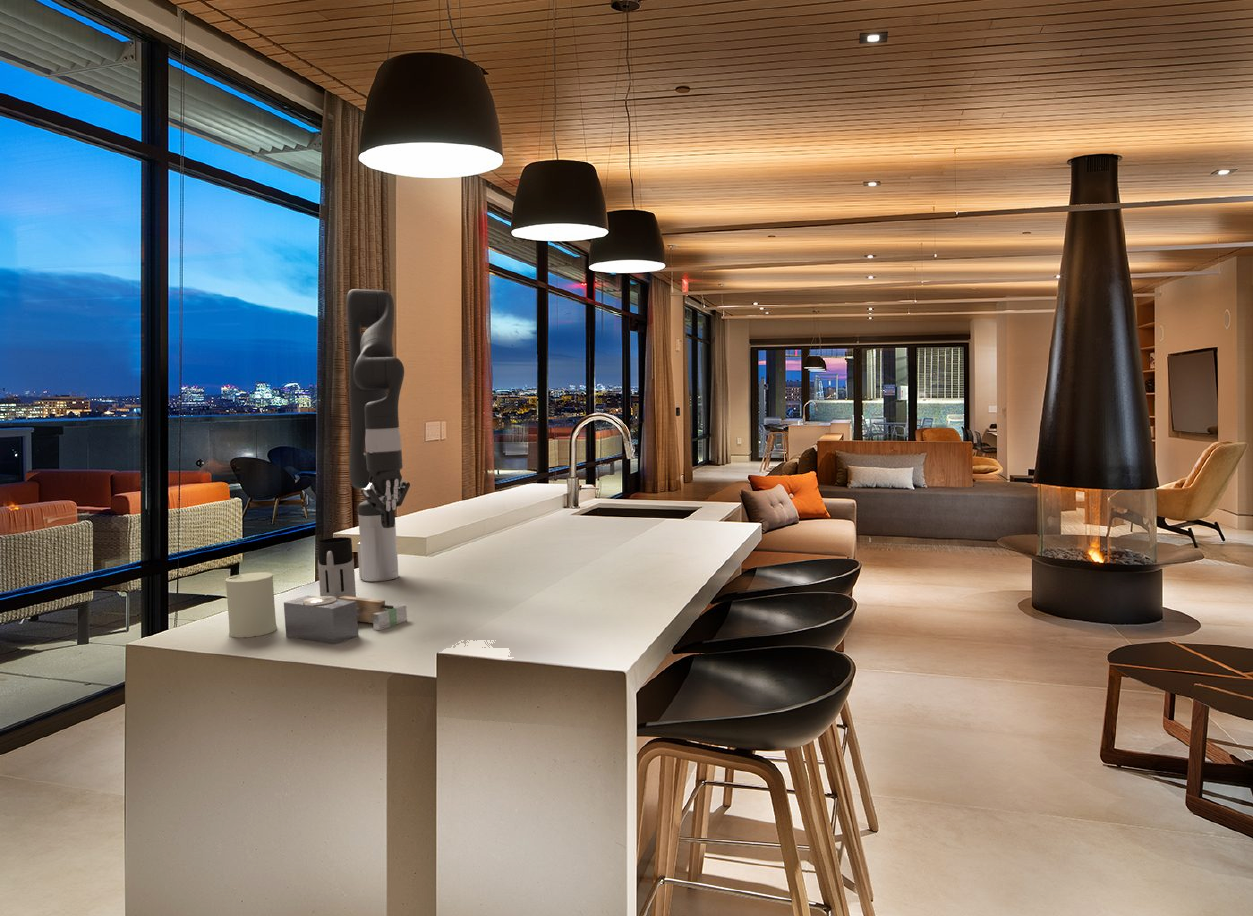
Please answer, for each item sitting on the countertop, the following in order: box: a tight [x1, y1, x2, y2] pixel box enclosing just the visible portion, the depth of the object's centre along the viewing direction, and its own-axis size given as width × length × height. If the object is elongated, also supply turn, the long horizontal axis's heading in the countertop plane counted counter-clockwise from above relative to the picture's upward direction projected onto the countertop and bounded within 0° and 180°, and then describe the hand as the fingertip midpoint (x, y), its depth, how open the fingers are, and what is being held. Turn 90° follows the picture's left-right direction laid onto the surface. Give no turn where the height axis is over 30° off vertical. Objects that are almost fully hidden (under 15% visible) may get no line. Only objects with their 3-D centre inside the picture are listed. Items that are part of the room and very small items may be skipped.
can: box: [224, 571, 278, 639], centre depth 178 cm, size 9×9×12 cm
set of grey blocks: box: [283, 595, 408, 645], centre depth 177 cm, size 15×19×7 cm
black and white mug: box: [317, 536, 357, 599], centre depth 196 cm, size 9×14×15 cm, turn 10°
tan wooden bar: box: [338, 596, 394, 624], centre depth 179 cm, size 15×6×5 cm, turn 61°
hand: (388, 527), depth 189 cm, fingers closed
